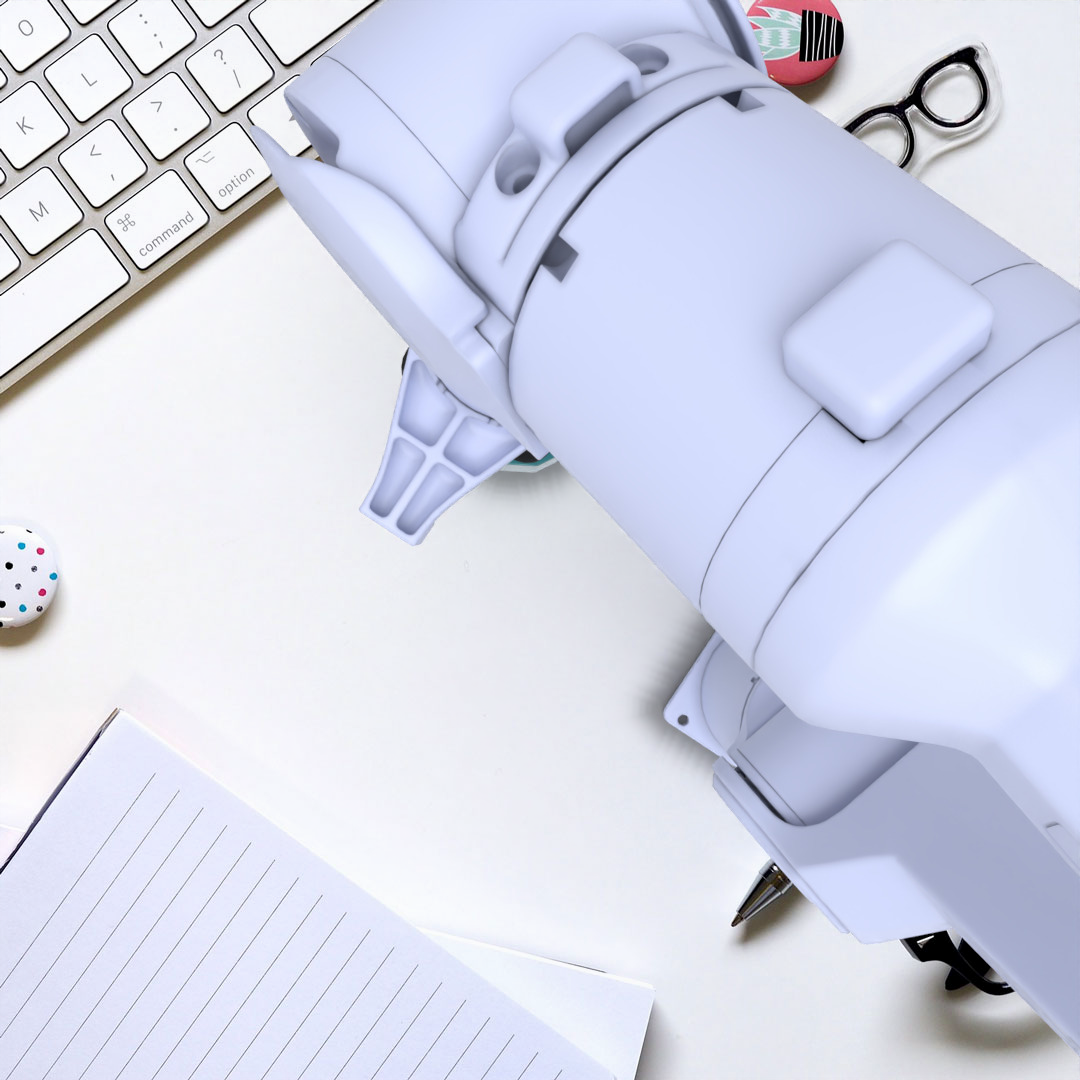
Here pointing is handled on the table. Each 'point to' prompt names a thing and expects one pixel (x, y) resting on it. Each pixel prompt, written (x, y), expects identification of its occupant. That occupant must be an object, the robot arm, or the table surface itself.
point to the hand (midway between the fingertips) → (519, 372)
